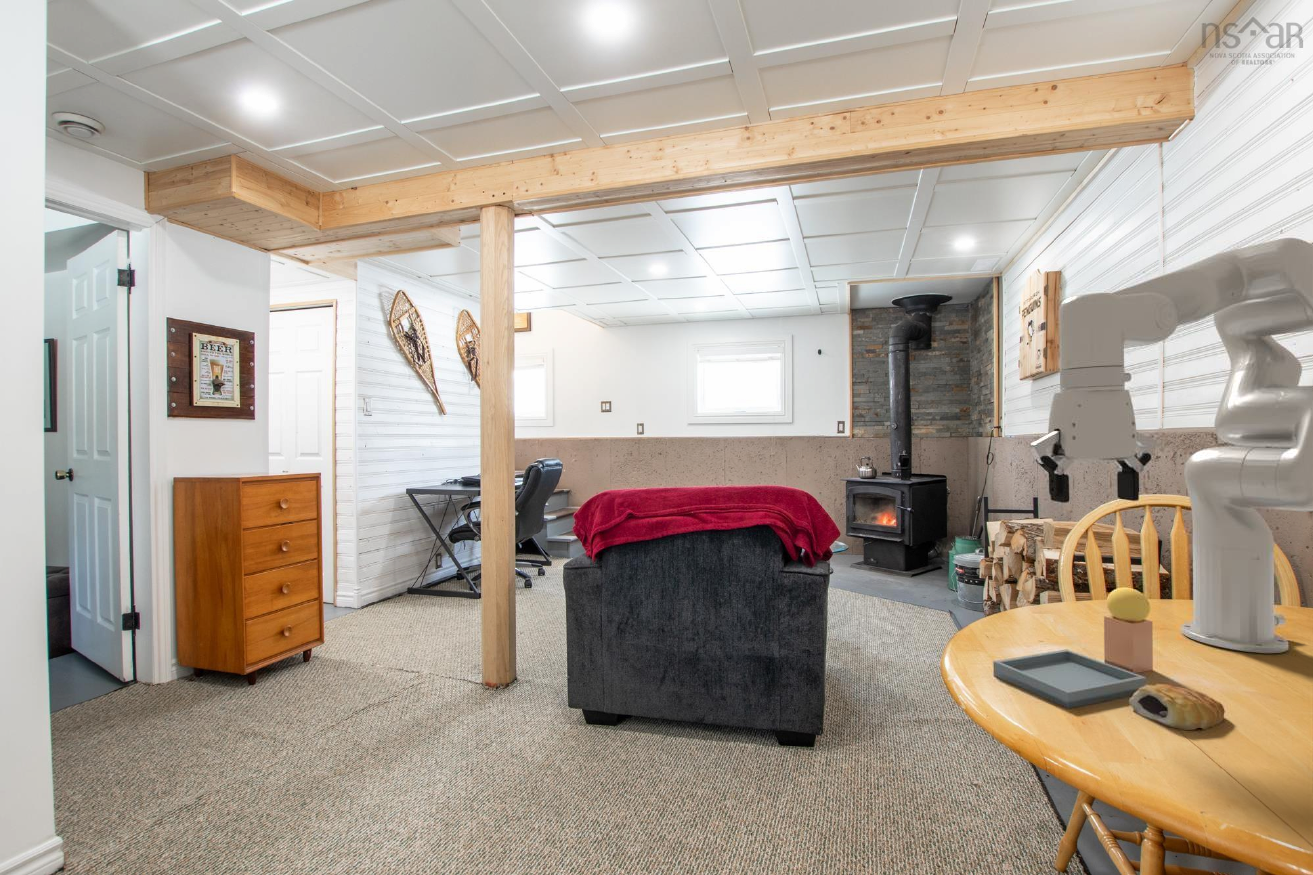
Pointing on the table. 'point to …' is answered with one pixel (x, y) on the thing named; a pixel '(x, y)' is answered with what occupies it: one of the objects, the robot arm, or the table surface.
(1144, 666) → the open box
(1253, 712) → the table surface
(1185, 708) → the pastry
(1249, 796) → the table surface
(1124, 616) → the ball
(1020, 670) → the tray
